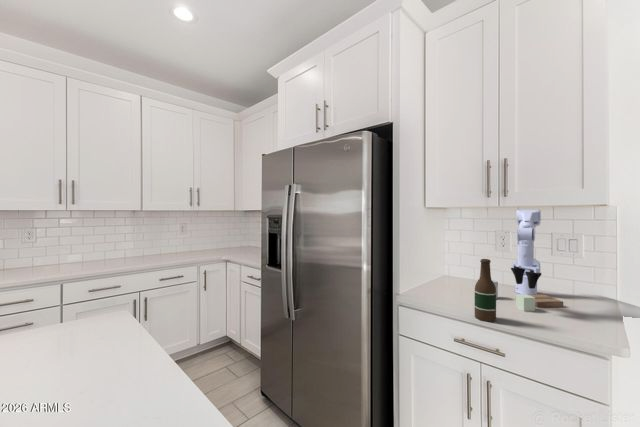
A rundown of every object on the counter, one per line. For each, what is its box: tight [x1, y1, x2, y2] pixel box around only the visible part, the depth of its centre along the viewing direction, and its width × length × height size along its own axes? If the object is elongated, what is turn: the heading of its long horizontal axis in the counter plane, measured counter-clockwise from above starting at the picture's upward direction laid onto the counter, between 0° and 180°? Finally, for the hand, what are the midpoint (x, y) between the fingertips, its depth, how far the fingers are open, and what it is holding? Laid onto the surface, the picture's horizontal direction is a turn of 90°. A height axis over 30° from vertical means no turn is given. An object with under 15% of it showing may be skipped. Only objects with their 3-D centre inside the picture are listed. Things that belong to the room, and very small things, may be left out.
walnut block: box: [527, 293, 564, 309], centre depth 140 cm, size 12×12×3 cm
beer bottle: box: [474, 258, 497, 323], centre depth 121 cm, size 8×8×24 cm
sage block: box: [515, 293, 536, 312], centre depth 132 cm, size 5×5×6 cm
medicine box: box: [477, 278, 499, 300], centre depth 150 cm, size 8×4×9 cm, turn 84°
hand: (525, 286), depth 132 cm, fingers open, 7 cm apart
